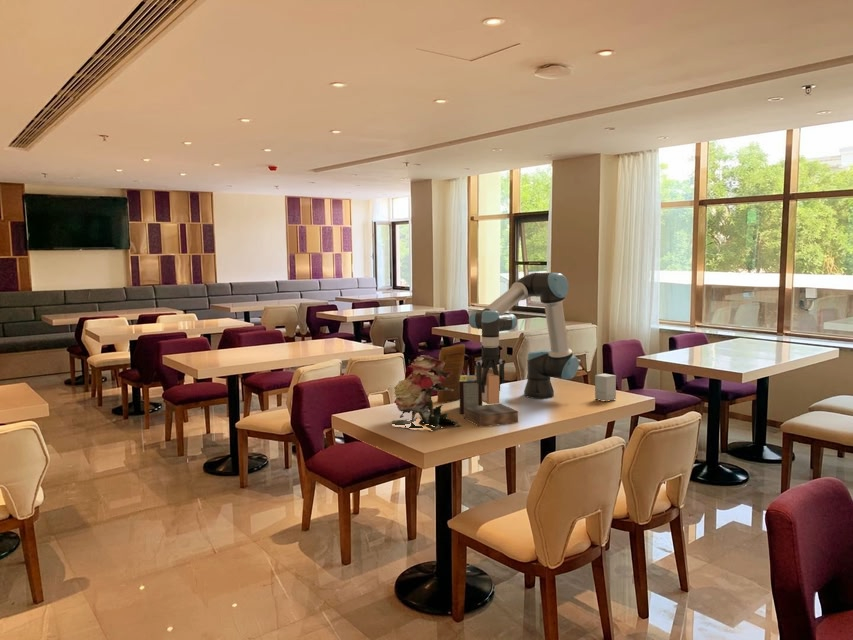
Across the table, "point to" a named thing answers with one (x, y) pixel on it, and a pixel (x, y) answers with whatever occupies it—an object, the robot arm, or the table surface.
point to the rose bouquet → (422, 392)
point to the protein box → (469, 392)
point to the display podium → (490, 414)
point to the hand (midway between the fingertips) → (490, 399)
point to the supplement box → (605, 387)
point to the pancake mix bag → (454, 364)
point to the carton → (492, 389)
